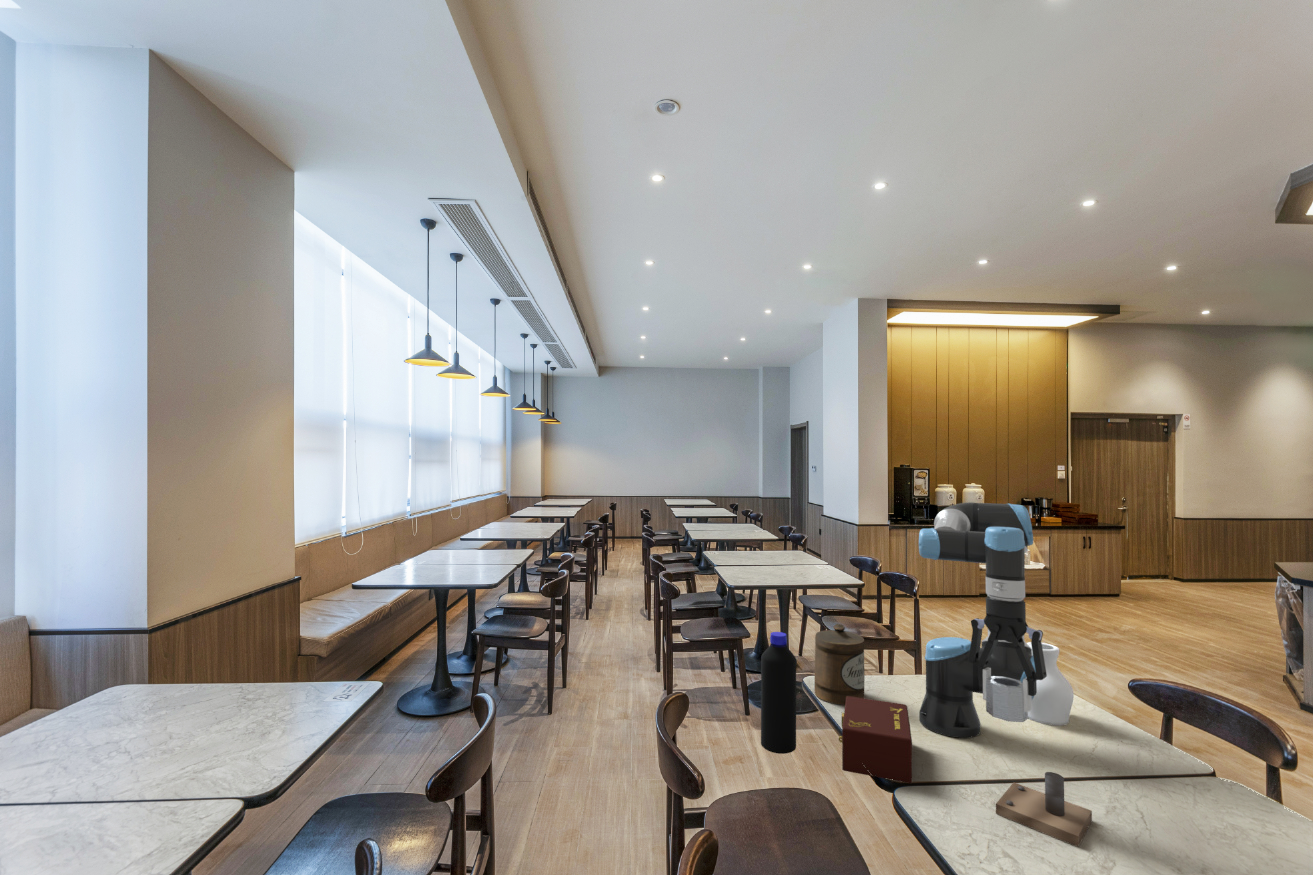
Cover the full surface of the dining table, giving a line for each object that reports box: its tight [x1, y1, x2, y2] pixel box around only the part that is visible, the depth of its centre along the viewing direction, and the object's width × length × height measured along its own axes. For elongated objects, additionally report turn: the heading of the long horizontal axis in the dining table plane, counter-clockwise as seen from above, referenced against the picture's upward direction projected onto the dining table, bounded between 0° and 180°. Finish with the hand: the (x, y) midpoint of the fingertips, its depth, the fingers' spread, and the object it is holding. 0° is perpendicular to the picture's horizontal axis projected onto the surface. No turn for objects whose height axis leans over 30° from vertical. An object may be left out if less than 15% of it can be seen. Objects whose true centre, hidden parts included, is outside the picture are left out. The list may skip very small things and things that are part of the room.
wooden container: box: [814, 623, 866, 706], centre depth 180 cm, size 15×15×22 cm
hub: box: [985, 676, 1029, 723], centre depth 126 cm, size 7×7×7 cm
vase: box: [1026, 641, 1075, 726], centre depth 166 cm, size 14×14×20 cm
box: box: [838, 696, 913, 784], centre depth 143 cm, size 21×16×10 cm
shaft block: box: [995, 771, 1093, 848], centre depth 118 cm, size 14×12×9 cm
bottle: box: [760, 631, 797, 755], centre depth 147 cm, size 9×9×28 cm
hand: (1006, 703), depth 126 cm, fingers closed on hub, 7 cm apart
